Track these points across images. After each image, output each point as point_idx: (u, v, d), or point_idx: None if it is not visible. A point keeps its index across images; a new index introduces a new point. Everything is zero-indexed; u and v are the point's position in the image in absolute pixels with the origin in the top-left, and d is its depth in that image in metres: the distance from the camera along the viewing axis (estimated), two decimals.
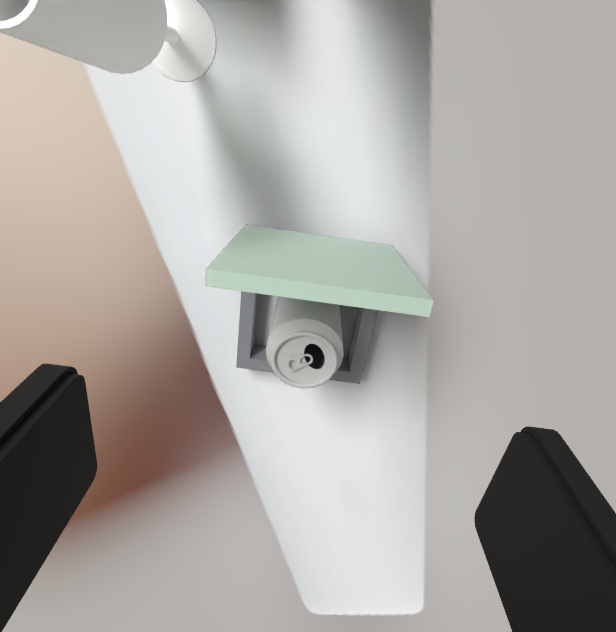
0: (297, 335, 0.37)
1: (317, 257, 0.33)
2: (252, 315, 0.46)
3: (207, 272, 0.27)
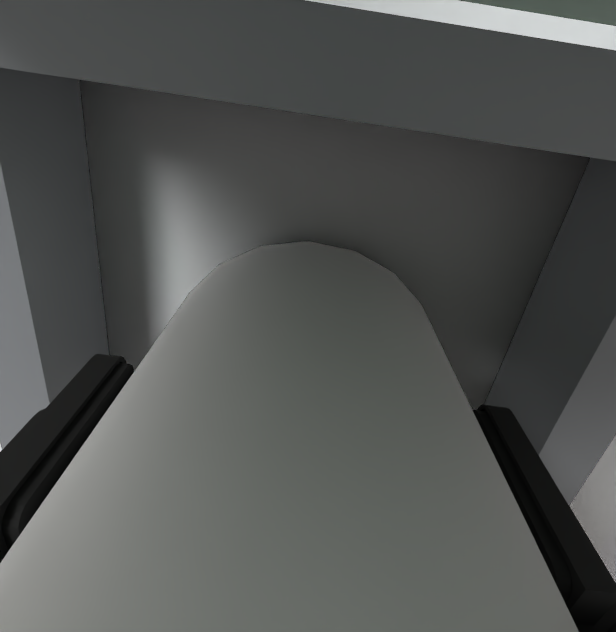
0: None
1: None
2: None
3: None
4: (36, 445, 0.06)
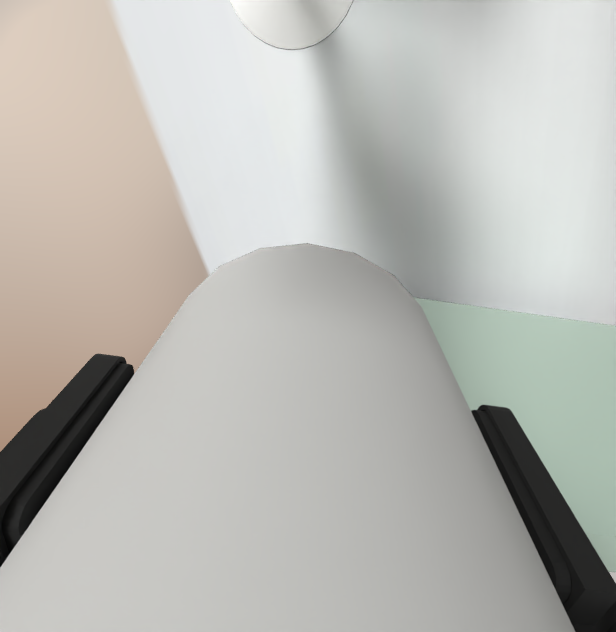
0: None
1: (594, 396, 0.16)
2: None
3: None
4: (36, 445, 0.06)
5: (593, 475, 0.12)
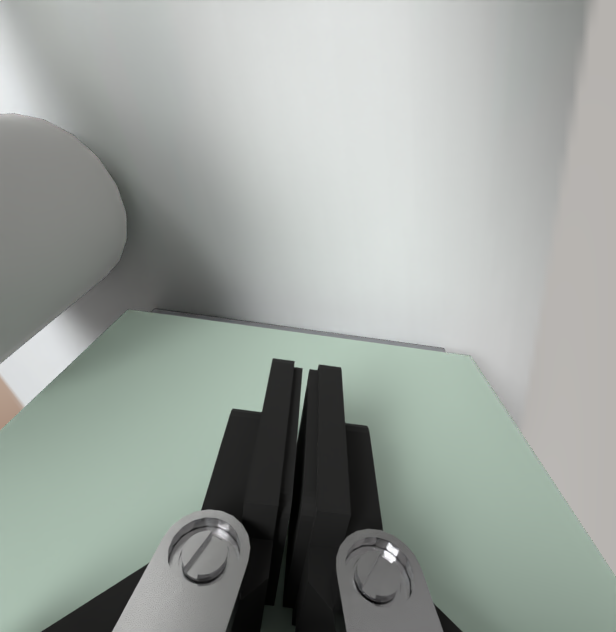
0: None
1: None
2: None
3: None
4: (275, 441, 0.07)
5: None
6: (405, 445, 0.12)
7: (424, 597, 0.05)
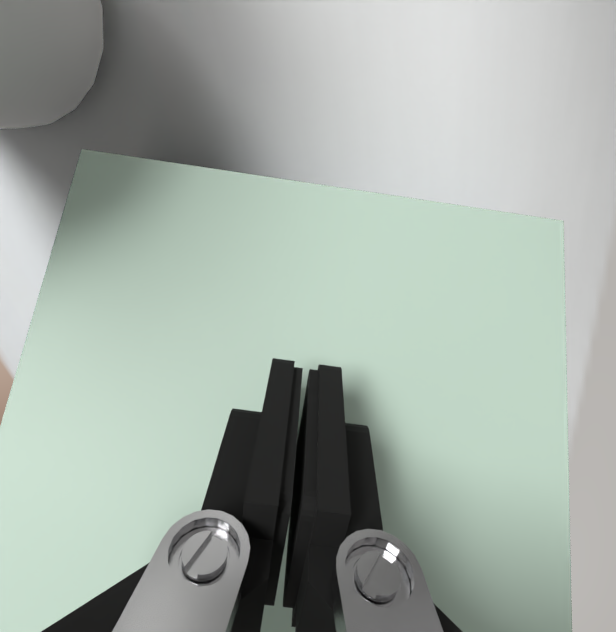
0: None
1: None
2: None
3: None
4: (275, 441, 0.07)
5: None
6: (421, 409, 0.11)
7: (424, 597, 0.05)
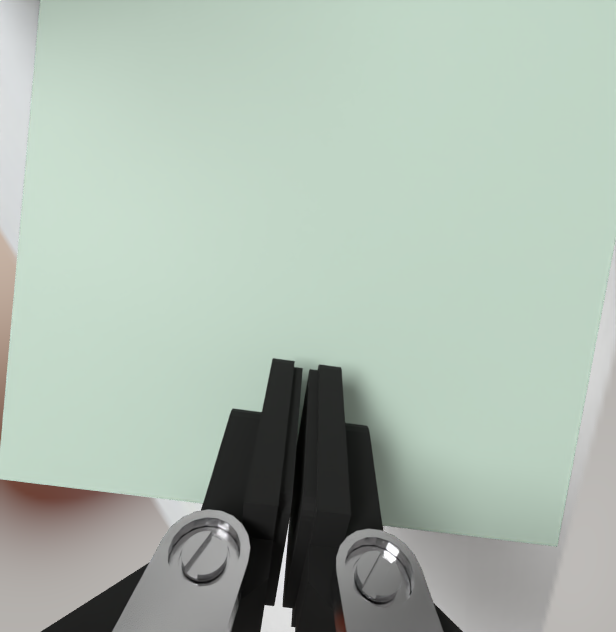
0: None
1: (310, 255, 0.10)
2: None
3: None
4: (275, 441, 0.07)
5: (169, 420, 0.11)
6: (467, 164, 0.10)
7: (424, 597, 0.05)
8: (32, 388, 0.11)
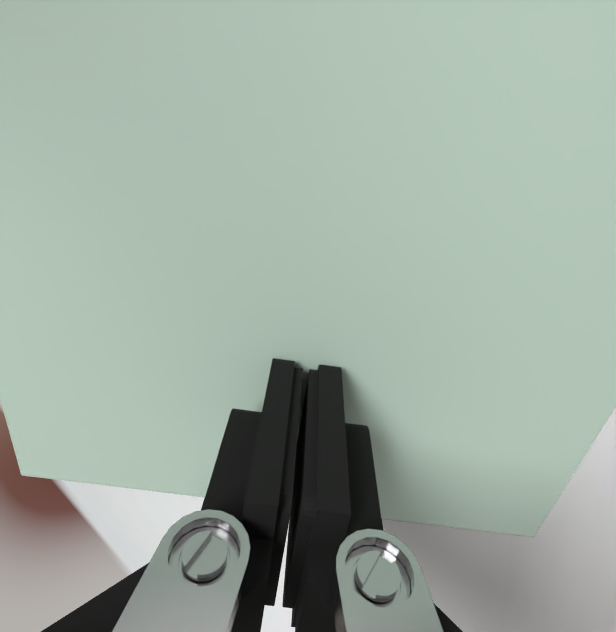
0: None
1: (305, 294, 0.09)
2: None
3: None
4: (275, 441, 0.07)
5: (168, 439, 0.11)
6: (520, 183, 0.08)
7: (424, 597, 0.05)
8: (29, 411, 0.11)
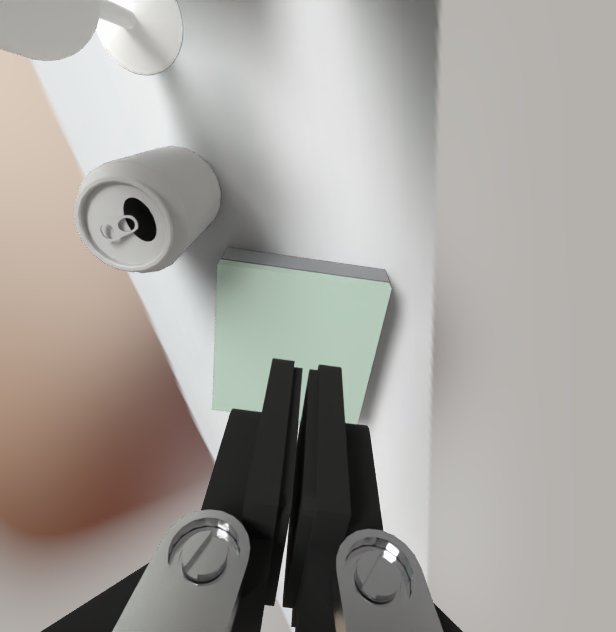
0: (103, 180, 0.25)
1: None
2: None
3: None
4: (275, 441, 0.07)
5: (254, 398, 0.41)
6: (332, 344, 0.38)
7: (424, 597, 0.05)
8: (219, 391, 0.41)
